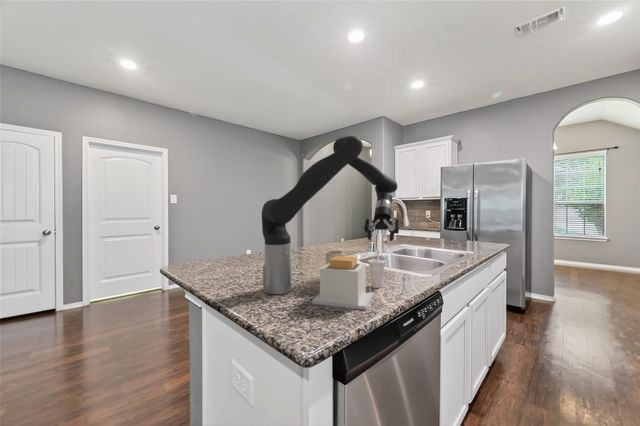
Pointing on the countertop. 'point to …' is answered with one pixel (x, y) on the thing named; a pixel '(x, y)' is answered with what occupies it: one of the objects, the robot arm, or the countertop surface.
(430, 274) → the countertop surface
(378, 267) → the smoothie
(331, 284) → the white open box
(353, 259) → the orange block
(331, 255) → the character mug
